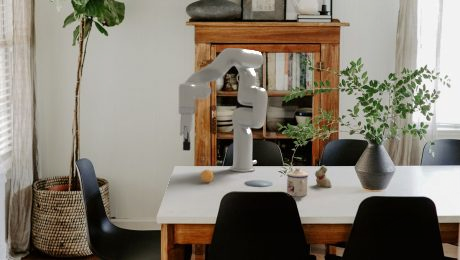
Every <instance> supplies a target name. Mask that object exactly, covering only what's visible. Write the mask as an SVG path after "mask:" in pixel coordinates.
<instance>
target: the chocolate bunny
mask: <svg viewBox="0 0 460 260" xmlns="http://www.w3.org/2000/svg"><path fill="white" fill-rule="evenodd" d="M327 171H328V168H327V167H326V166H325V165H324V164H323V165H321V166H320V168H318V169H317V170H316V171H315V172H314V175H315V178H316V179H315V182H316V186H318V187H320V188H332V182H331V179H329V177H327V176H326V173H327Z"/></svg>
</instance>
